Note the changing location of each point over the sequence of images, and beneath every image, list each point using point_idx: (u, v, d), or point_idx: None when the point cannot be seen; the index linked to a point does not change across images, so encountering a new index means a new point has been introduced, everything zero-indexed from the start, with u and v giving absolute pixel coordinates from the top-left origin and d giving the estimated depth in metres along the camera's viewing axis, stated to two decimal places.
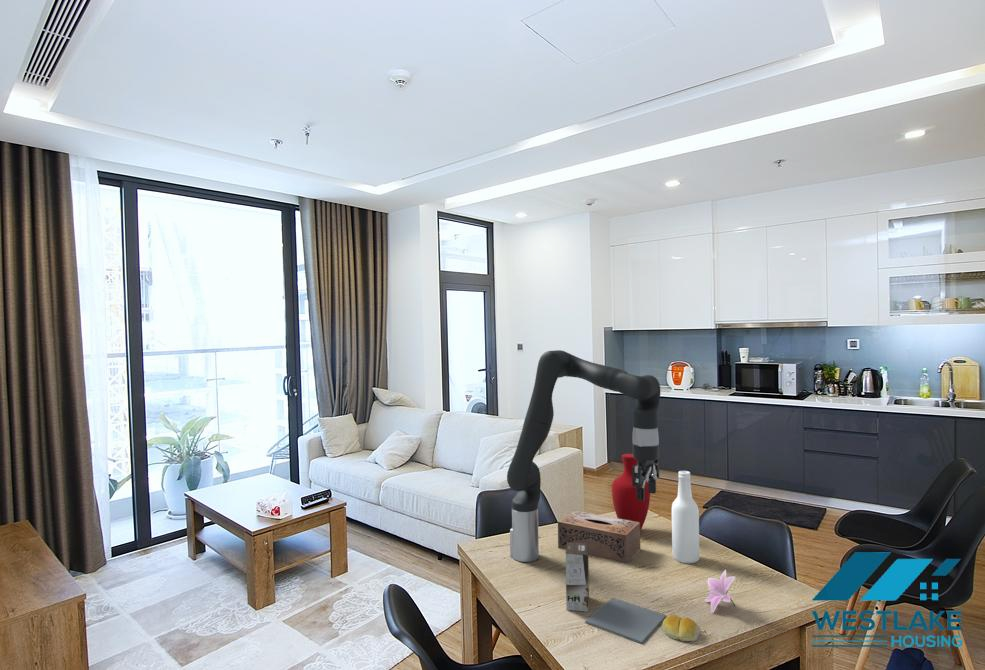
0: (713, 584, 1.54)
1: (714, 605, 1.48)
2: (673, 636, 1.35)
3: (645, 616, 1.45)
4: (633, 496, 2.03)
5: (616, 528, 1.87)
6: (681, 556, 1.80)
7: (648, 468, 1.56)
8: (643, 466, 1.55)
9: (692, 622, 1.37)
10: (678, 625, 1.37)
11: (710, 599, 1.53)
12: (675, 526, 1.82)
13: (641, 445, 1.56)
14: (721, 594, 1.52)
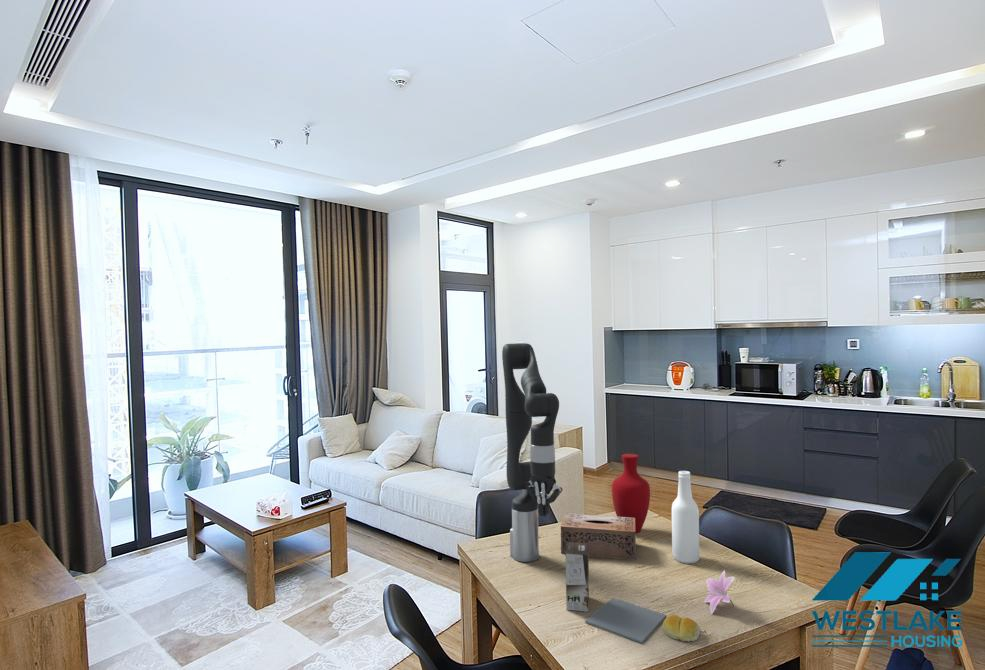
0: (712, 584, 1.54)
1: (713, 606, 1.48)
2: (673, 636, 1.35)
3: (645, 616, 1.45)
4: (633, 496, 2.03)
5: (620, 526, 1.89)
6: (681, 556, 1.80)
7: None
8: None
9: (693, 622, 1.37)
10: (678, 625, 1.37)
11: (709, 599, 1.52)
12: (675, 526, 1.82)
13: (553, 461, 1.60)
14: (720, 594, 1.51)
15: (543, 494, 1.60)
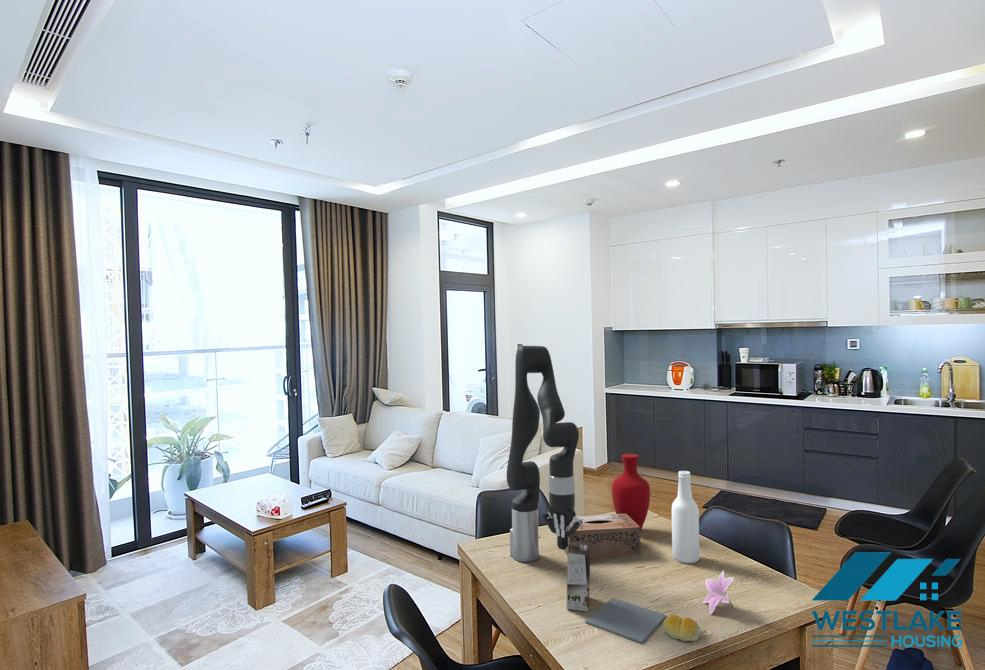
0: (711, 585, 1.54)
1: (713, 606, 1.48)
2: (674, 636, 1.35)
3: (645, 616, 1.45)
4: (633, 496, 2.03)
5: (622, 523, 1.91)
6: (681, 556, 1.80)
7: None
8: None
9: (693, 622, 1.37)
10: (679, 625, 1.37)
11: (708, 600, 1.52)
12: (675, 526, 1.82)
13: (573, 492, 1.55)
14: (719, 595, 1.51)
15: (562, 527, 1.55)
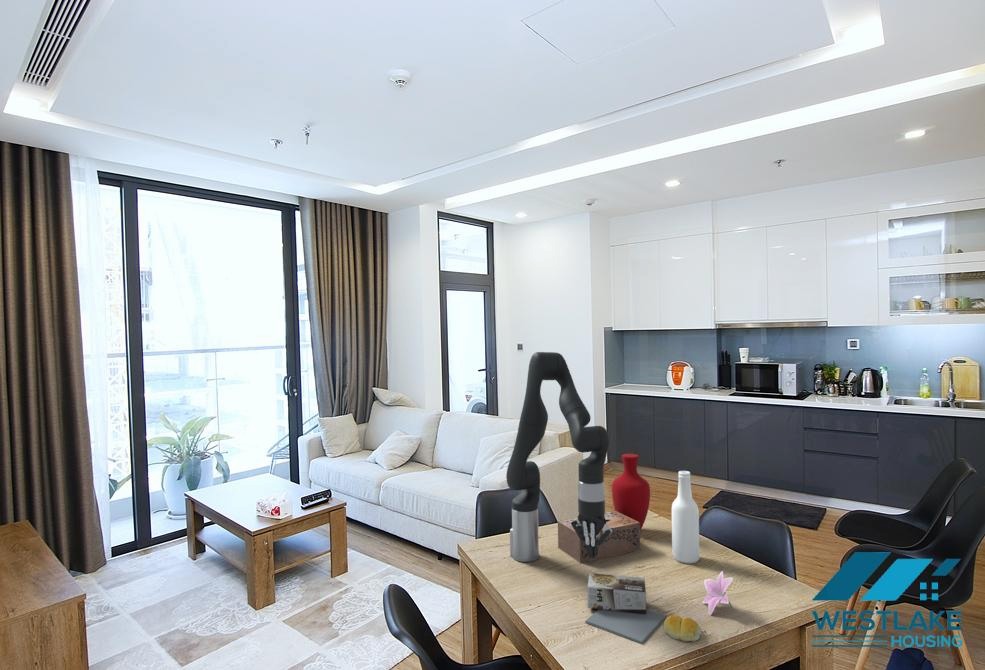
0: (710, 585, 1.54)
1: (712, 607, 1.48)
2: (674, 636, 1.35)
3: (645, 616, 1.45)
4: (633, 496, 2.03)
5: (621, 521, 1.94)
6: (681, 556, 1.80)
7: None
8: None
9: (693, 622, 1.37)
10: (679, 625, 1.37)
11: (707, 600, 1.52)
12: (675, 526, 1.82)
13: (603, 499, 1.49)
14: (718, 595, 1.51)
15: (592, 535, 1.49)
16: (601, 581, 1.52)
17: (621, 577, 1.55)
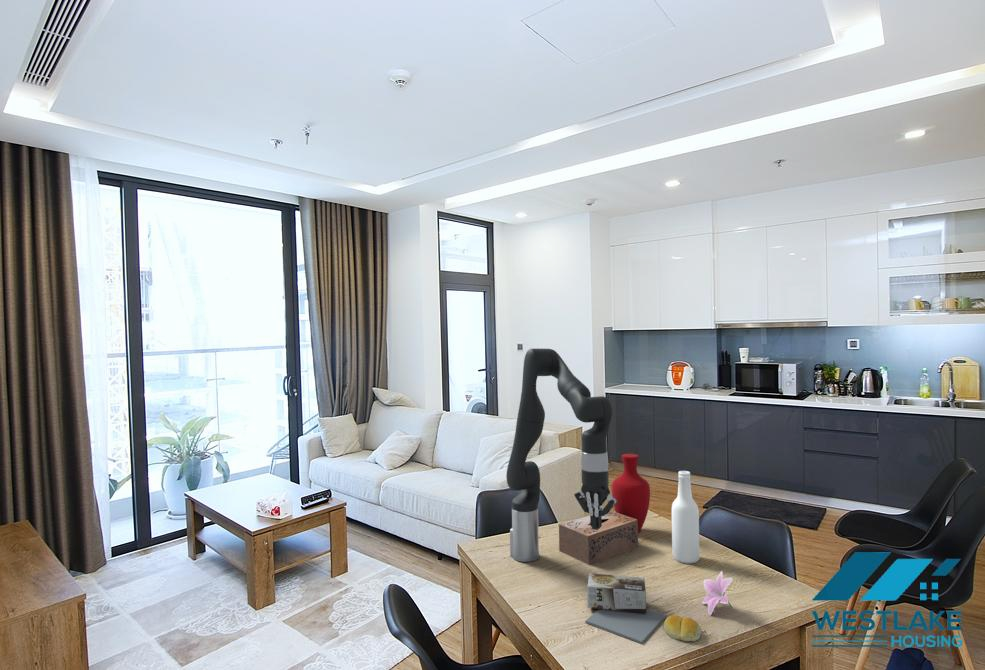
0: (710, 586, 1.53)
1: (711, 607, 1.47)
2: (675, 636, 1.35)
3: (645, 616, 1.45)
4: (633, 496, 2.03)
5: (619, 519, 1.96)
6: (681, 556, 1.80)
7: None
8: None
9: (694, 622, 1.37)
10: (679, 625, 1.37)
11: (706, 601, 1.52)
12: (675, 526, 1.82)
13: (607, 469, 1.48)
14: (718, 596, 1.51)
15: (596, 505, 1.48)
16: (601, 581, 1.53)
17: (621, 577, 1.55)
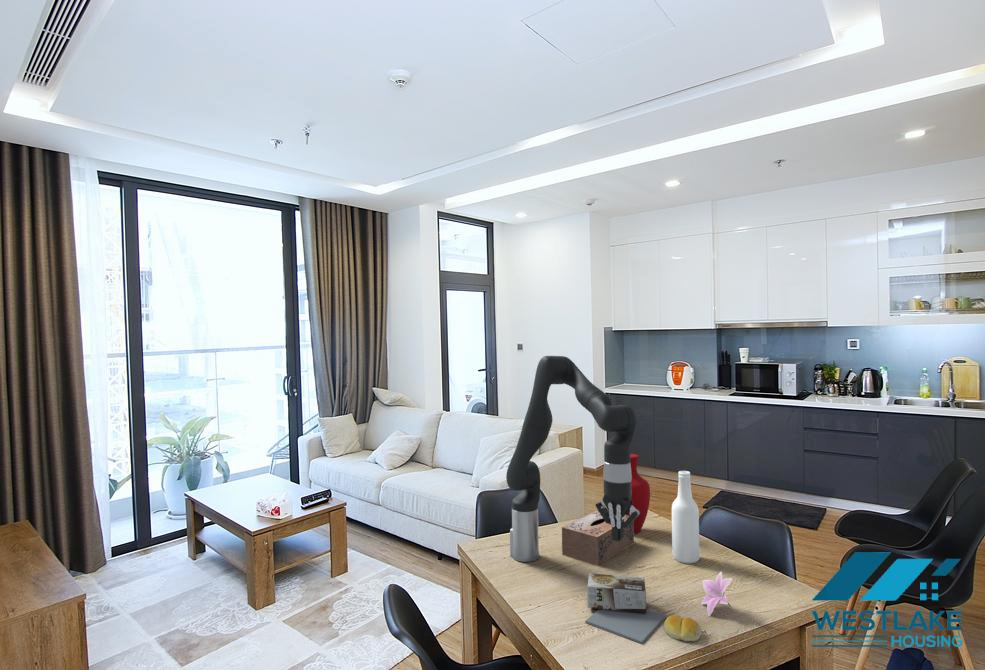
0: (709, 586, 1.53)
1: (711, 608, 1.47)
2: (675, 637, 1.35)
3: (645, 616, 1.45)
4: (633, 496, 2.03)
5: None
6: (681, 556, 1.80)
7: None
8: None
9: (694, 622, 1.37)
10: (680, 625, 1.37)
11: (706, 601, 1.52)
12: (675, 526, 1.82)
13: (630, 480, 1.44)
14: (717, 596, 1.51)
15: (618, 517, 1.45)
16: (601, 581, 1.53)
17: (621, 577, 1.55)
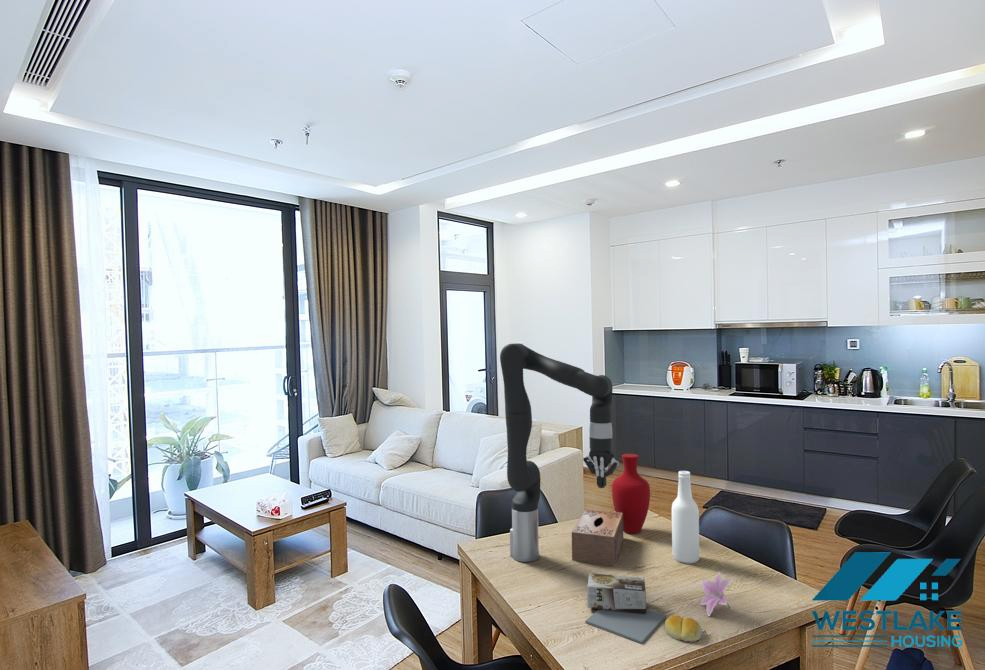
0: (708, 586, 1.53)
1: (710, 608, 1.47)
2: (676, 637, 1.35)
3: (645, 616, 1.45)
4: (633, 496, 2.03)
5: (609, 515, 2.00)
6: (681, 556, 1.80)
7: None
8: None
9: (694, 622, 1.37)
10: (680, 625, 1.37)
11: (705, 602, 1.51)
12: (675, 526, 1.82)
13: (611, 437, 1.75)
14: (716, 596, 1.50)
15: (602, 467, 1.75)
16: (601, 581, 1.53)
17: (621, 577, 1.55)
